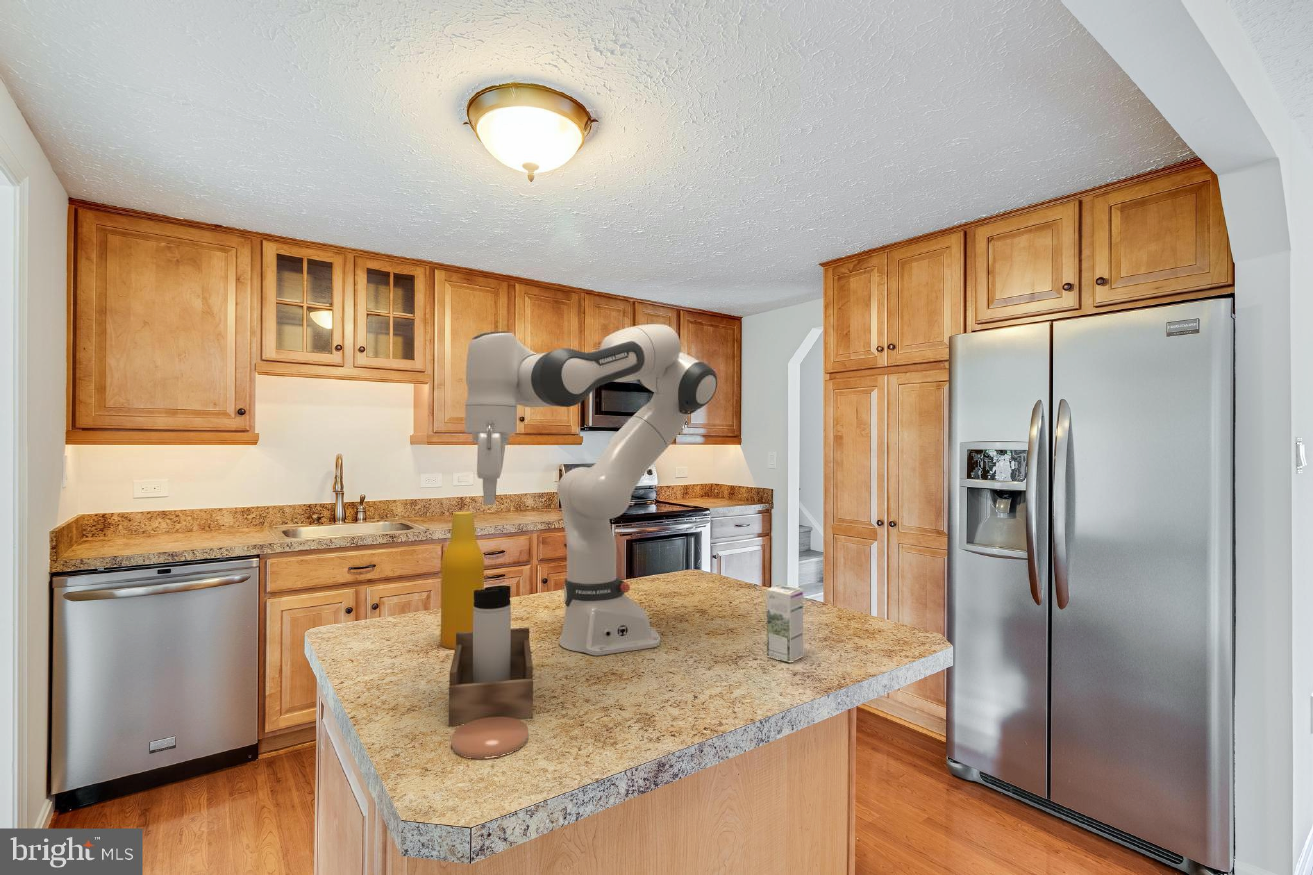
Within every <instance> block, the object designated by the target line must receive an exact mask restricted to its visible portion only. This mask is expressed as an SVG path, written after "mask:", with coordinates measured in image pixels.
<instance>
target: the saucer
mask: <svg viewBox="0 0 1313 875" xmlns="http://www.w3.org/2000/svg"><path fill="white" fill-rule="evenodd" d="M527 739H528V740H529V728H528V725H527V723H525V722H524V721H523V720H522V719H515V718H510V717H487V718H482V719H477V720H474V721H471V722H468V723H466V724H464V725H460V727H458V728H456V729H455V731H454V732H453V733H452V736H451V749H452V751H453V750H454V751H455V752H456V753H457V754H456V753H455V752H454V751H453V752H454V753H455V754H456V755H458V754H460V755H462V756H466V757H471V758H485V757H492V756H501V755H503V754H507V753H510V752H512V751H515V750H517V749H519V748H520V747H522V745H524V744H525V743H526V744H527V742H528V740H527ZM526 741H527V742H526ZM526 744H525V745H526ZM525 745H524V746H525ZM522 748H523V747H522ZM520 749H521V748H520ZM520 749H519V750H520ZM517 751H518V750H517ZM515 752H516V751H515ZM460 755H459V756H460ZM462 756H461V757H462Z"/></svg>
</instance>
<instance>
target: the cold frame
mask: <svg viewBox="0 0 1313 875" xmlns="http://www.w3.org/2000/svg"><path fill="white" fill-rule="evenodd" d="M532 657H533V656H532V650H531V643H530V627H517V628H516V627H515V628H511V644H510V680H508V681H496V682H484V683H473V631H469V632H456V647H455V649H454V652H453V657H452V660H451V665H450V670H449V676H448V677H449V680H448V681H449V682H448V727H452V725H455V726H460V725H459V724H466V723H468V722H471V721H474V720H477V719H482V718H487V717H510V718H515V719H518V720H524V719H533V717H534V712H533V711H534V678H533V676H534V672H533V671H534V667H533V666H534V664H533V658H532Z"/></svg>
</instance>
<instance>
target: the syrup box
mask: <svg viewBox="0 0 1313 875" xmlns="http://www.w3.org/2000/svg"><path fill="white" fill-rule="evenodd" d="M767 656H771V657H774V658H778V659H780V660H785V661H793V660H795V659H797V658H799V657H801V656H803V657H804V589H803V588H799V587H793V586H789V585H781V584H779V585H774V586H771V587H769V588H766V657H767Z"/></svg>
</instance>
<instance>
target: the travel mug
mask: <svg viewBox="0 0 1313 875" xmlns="http://www.w3.org/2000/svg"><path fill="white" fill-rule="evenodd" d="M511 592H512V590H511V586H510V585H507V584H506V585H494V586H486V587H484V589H482V590H475V591H474V605H473V609H474V610H473V683H484V682H496V681H508V680H510V644H511V629H512V626H511V624H512V620H511V616H512V614H511V612H512V611H511V610H512V609H511V606H512V604H511Z"/></svg>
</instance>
